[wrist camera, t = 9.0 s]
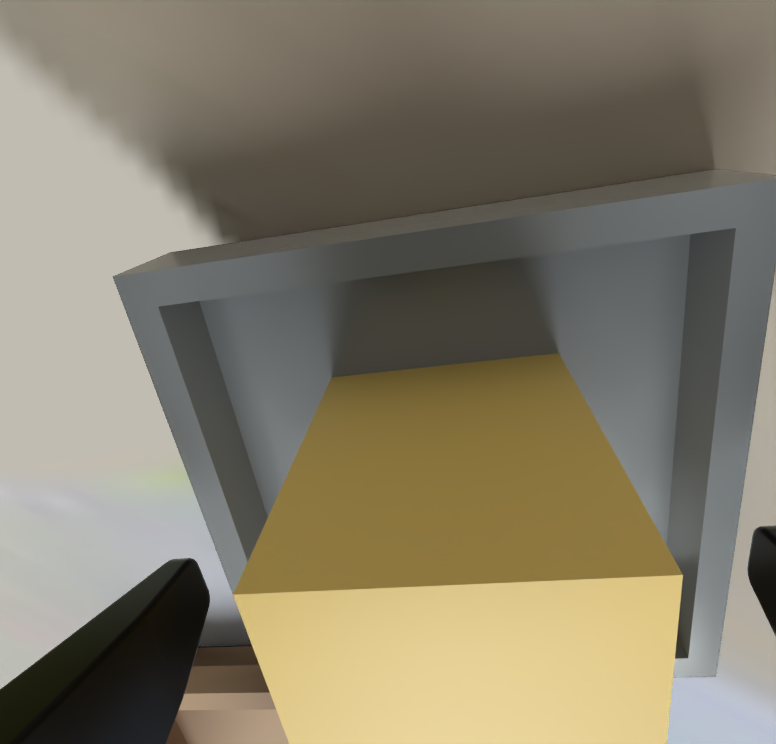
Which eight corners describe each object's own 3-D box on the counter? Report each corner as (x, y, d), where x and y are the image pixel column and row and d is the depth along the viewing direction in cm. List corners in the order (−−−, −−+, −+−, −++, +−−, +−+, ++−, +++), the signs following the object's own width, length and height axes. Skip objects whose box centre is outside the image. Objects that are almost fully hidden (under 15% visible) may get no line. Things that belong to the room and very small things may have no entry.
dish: (716, 168, 9) (789, 176, 7) (676, 601, 13) (715, 676, 11) (170, 252, 10) (112, 276, 8) (288, 615, 14) (267, 684, 12)
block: (558, 352, 10) (682, 575, 5) (563, 535, 12) (657, 836, 7) (331, 377, 10) (232, 594, 5) (369, 546, 12) (320, 826, 7)
